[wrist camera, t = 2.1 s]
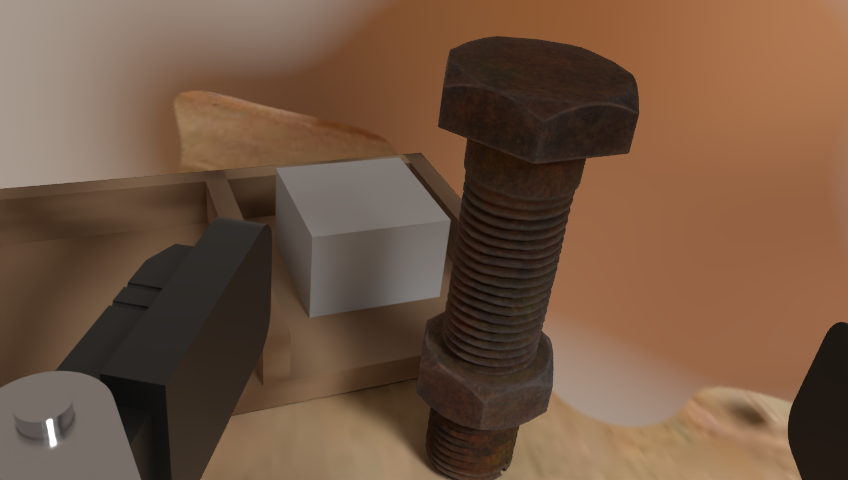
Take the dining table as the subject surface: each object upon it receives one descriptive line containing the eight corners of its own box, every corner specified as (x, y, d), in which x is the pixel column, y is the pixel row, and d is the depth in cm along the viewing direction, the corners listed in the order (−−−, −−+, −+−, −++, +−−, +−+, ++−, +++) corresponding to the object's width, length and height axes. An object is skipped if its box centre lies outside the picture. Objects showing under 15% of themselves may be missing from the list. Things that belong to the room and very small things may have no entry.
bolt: (423, 535, 26) (492, 110, 18) (368, 428, 30) (405, 39, 22) (570, 488, 28) (687, 95, 20) (501, 395, 32) (579, 32, 24)
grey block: (392, 228, 40) (399, 157, 38) (439, 296, 35) (450, 220, 33) (275, 242, 38) (275, 167, 35) (309, 317, 33) (312, 237, 31)
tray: (414, 209, 44) (421, 152, 42) (534, 367, 34) (550, 302, 32) (-31, 260, 36) (-47, 192, 34) (-56, 492, 25) (-81, 413, 23)
